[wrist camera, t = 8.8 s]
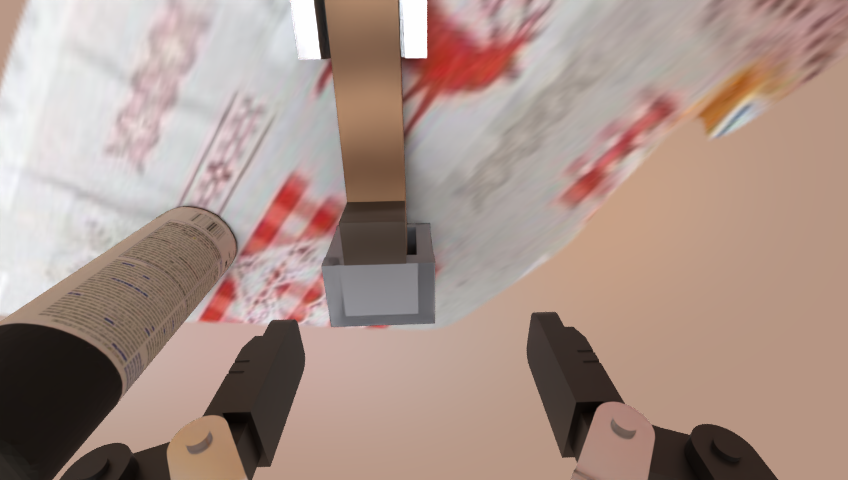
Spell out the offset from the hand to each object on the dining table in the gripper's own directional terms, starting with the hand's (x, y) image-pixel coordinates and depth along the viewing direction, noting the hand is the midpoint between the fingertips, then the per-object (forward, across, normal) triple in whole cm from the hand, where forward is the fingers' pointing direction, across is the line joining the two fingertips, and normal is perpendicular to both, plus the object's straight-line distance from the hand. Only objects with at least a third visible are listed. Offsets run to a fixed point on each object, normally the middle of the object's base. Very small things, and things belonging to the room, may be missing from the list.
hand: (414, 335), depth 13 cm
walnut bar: (+18, +3, -2) cm, 18 cm away
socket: (+19, +3, +7) cm, 21 cm away
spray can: (+19, +19, +6) cm, 27 cm away
